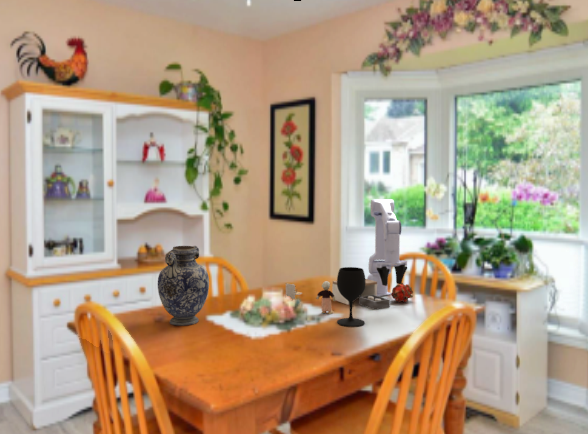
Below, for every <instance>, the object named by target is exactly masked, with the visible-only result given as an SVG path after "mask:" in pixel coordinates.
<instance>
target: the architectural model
mask: <svg viewBox="0 0 588 434" xmlns="http://www.w3.org/2000/svg"><path fill="white" fill-rule="evenodd" d="M296 286H297V285H295V283H292V284H291V283H285V296H286V295H287V296H290V297H291V298H292V299H295V300H296V296H297V295H302V294H303V292H300V291H298V289H296Z"/></svg>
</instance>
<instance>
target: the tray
mask: <svg viewBox="0 0 588 434" xmlns="http://www.w3.org/2000/svg"><path fill="white" fill-rule="evenodd" d="M390 300H391V299H389V298H385V297H383V296H376V295H369V296H360V297H359V298H358V305H361V306H363V307H366V308H369V309H372V310H379V309H387V308H390V304H391V303H390Z"/></svg>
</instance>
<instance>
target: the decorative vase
mask: <svg viewBox="0 0 588 434" xmlns="http://www.w3.org/2000/svg"><path fill="white" fill-rule="evenodd" d="M199 257H200V249H199V247H198V246H197V245H193V246H191V245H177V246H173V248H172V249H170V250H169V251H168V252H167V253H166V254H165V256H164V258H165V261H164V262H165V264H167V265H165V267H163V268H162V269H161V270H160V272H159V274H158V277H157V292H158V296H159V299H160V302H161V304H162V306H163V308H164V310H165V311H166V312H167V313H168V314H169V315H171V316H172V318H170V319H169V324H170V325H172V326H178V327H184V326H192V325H196V324H198V322H199V318H198V317H197V316H196V315H197V314H199V312H200V311H201V310H202V309H203V307H204V305H205V303H206V300H207V298H208V294H209V291H210V278H209V277H210V276H209V274H208V273H209V272H208V271H207V270H206V268H205V266H202V265H200V264H199V263H198V262H197V259H199Z"/></svg>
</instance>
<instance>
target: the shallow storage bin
mask: <svg viewBox="0 0 588 434" xmlns="http://www.w3.org/2000/svg"><path fill="white" fill-rule="evenodd" d="M365 281H366V284H365V289H364V291H363V293H362V294H361V296H360V297H362V296H369V295H376V296H377V282H376V281H372V280H368V279H367V278H365ZM331 292H332V293H333V295H334V297H335V299H336V300H335V302H339V303H342V304H345V305H349V301H348V300H347V299H345V298H344V297H343V296H342V295H341V294H340V292H339V290H338V287H337V280H332V289H331Z"/></svg>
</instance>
